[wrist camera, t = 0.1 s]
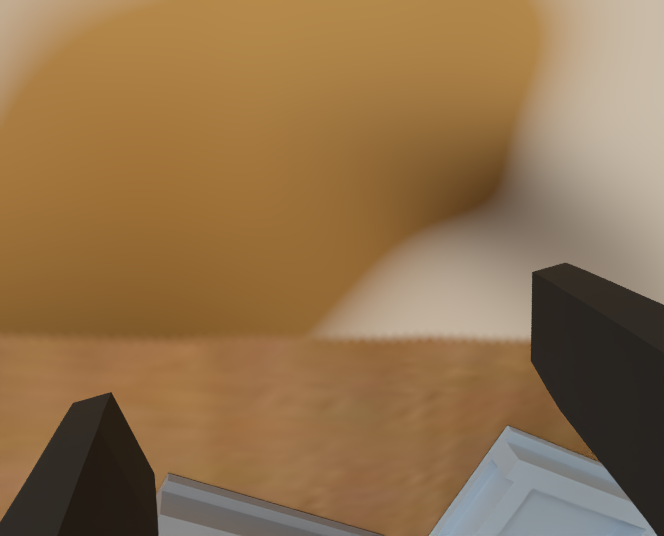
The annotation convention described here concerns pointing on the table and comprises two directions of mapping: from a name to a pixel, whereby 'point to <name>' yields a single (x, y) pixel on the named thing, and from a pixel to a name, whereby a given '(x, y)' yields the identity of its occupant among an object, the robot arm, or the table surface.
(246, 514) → the front socket
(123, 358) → the table surface
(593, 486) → the rear socket
